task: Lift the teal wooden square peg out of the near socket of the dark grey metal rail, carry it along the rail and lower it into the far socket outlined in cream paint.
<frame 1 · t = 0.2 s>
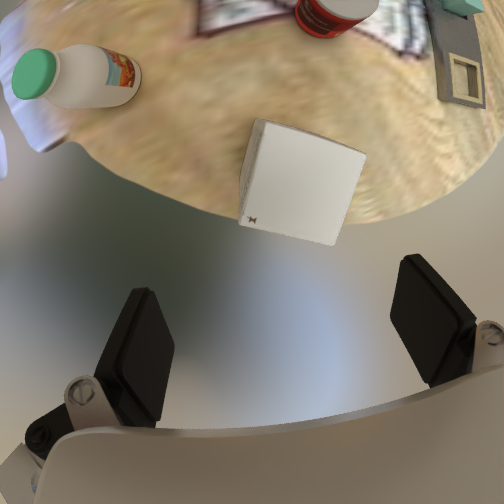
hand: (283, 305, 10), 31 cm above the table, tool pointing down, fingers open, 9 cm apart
canned food: (320, 16, 28), on the table
supplement box: (278, 156, 38), on the table
rail: (452, 39, 27), on the table
peg: (444, 3, 23), resting in rail
milk bottle: (118, 81, 31), on the table
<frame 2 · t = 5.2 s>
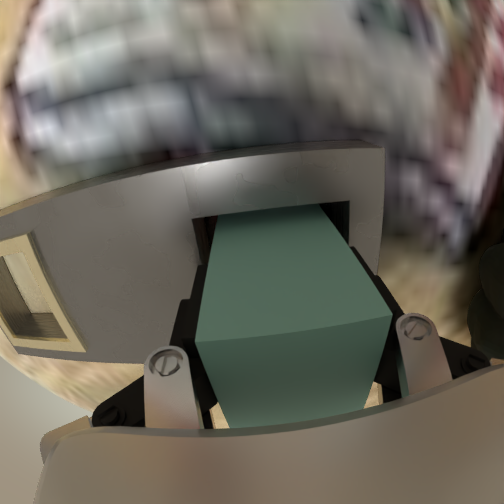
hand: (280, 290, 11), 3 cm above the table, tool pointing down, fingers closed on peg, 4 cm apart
rail: (130, 265, 14), on the table
peg: (271, 248, 14), resting in rail, touching gripper
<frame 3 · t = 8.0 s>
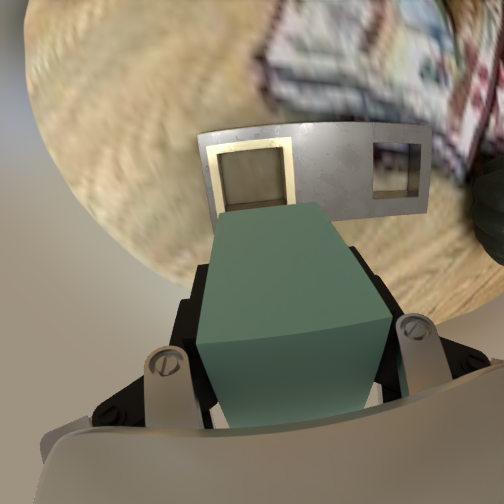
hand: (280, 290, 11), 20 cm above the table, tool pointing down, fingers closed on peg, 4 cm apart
squash: (487, 194, 29), on the table
rail: (324, 168, 28), on the table
peg: (272, 250, 14), point 16 cm above the table, touching gripper
when the fingers open (5 cm above the table, at t = 10.8 s): peg drops 1 cm, resting in rail.
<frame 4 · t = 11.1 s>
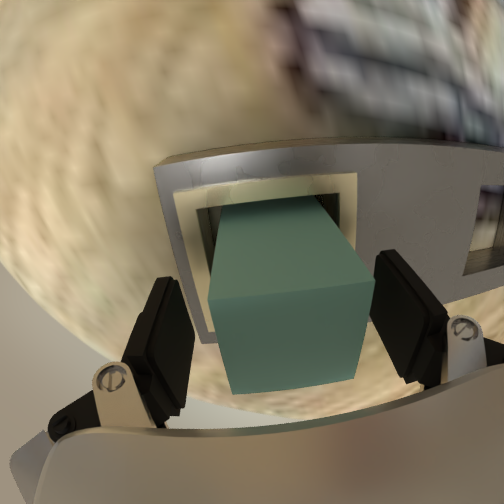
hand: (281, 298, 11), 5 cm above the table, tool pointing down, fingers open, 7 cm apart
rail: (395, 222, 15), on the table
peg: (270, 236, 15), resting in rail
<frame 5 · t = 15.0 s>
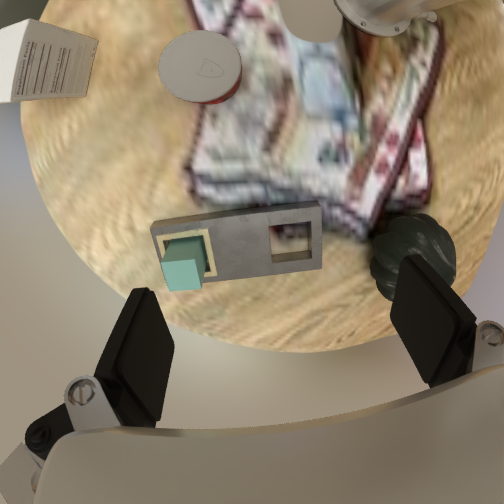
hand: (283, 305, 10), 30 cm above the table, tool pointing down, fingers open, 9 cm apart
canned food: (210, 77, 31), on the table
squash: (397, 243, 44), on the table
supplement box: (68, 69, 28), on the table
rail: (238, 241, 43), on the table
peg: (190, 247, 43), resting in rail
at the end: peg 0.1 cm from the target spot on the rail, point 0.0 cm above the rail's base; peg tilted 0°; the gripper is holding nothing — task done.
